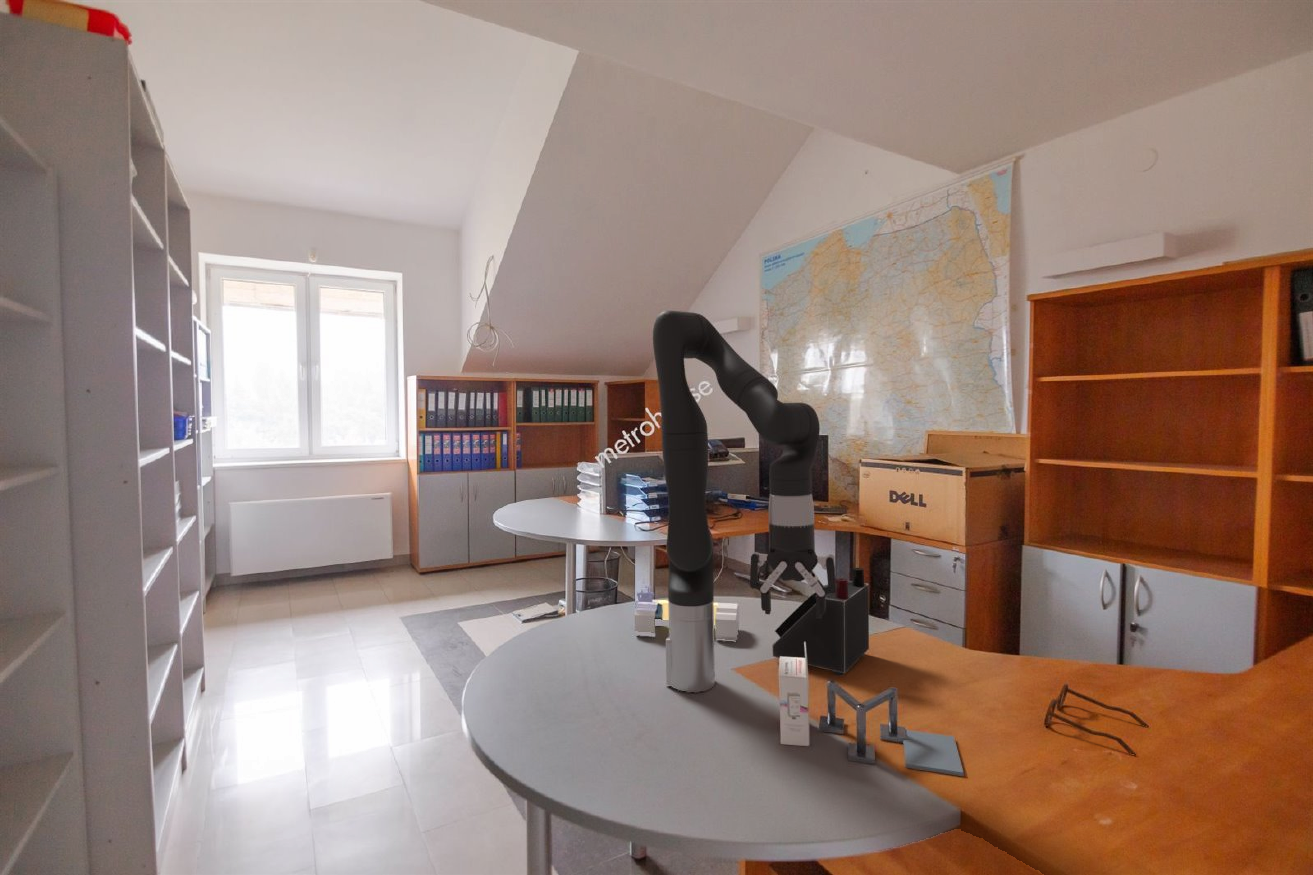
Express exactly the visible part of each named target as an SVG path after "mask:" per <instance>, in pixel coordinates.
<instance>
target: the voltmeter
mask: <svg viewBox="0 0 1313 875" xmlns="http://www.w3.org/2000/svg"><path fill="white" fill-rule="evenodd" d="M864 572H865V571H864V568H861V567H853V568H852V575H851V576H852V578H851V580H848V579H847V578H843V577H836V585H837V587H836V592H835V593H833V594H832V593H830V594H827V595H826V596H825V605H826V610H825V614H824V615H821V618H817V617H816V595H817V593H816V592H814V593H812V594H811V595H810V596H809V597H808V598H806V600H804V602H802V603H801V604H800V605H799V606H798V607H797V608H796V609H795V610H794V611H793V612H792V613H791V614H790V615H789V616H788V617H787V618H786V619H785V620H784V621H783V622H782V623H781V624H779V626H778V627H777V628H776V629H775V630H774V632H775V633H776V634H777V635H778V636H779V638H778V639H777V640H776V641H775V642H774V643H773V644H772V657H774V658H776V659H780V656H782V657H798V658H805V646H804V642H805V643H806V652H807V664H808V665H809V666H813V667H817V668H821V669H826V670H830V671H832V672H833V675H834V676H838V677H841V676H844V674H845V673H847V672H848V671H849V670H850V669H851V668H852V667H853V666H854V664H856V663H857V661H859V659H860V658H861V657H863V655H864V654H865V653H866V652H867V651H868V650H869V649H870V632H869V631H870V628H869V627H870V623H869V621H870V612H869V610H870V609H869V608H870V607H869V606H870V605H869V604H870V603H869V602H870V600H869V595H870V594H869V591H870V590H869V583H866V582H865V575H864V574H865V573H864Z"/></svg>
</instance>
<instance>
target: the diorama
mask: <svg viewBox="0 0 1313 875" xmlns="http://www.w3.org/2000/svg"><path fill="white" fill-rule="evenodd" d="M645 591H647V592H645ZM652 591H653V587H652V586H651V585H648V586H647V585H646V588H643V589H641V591H639V592H637V591H636V596H637V599H638V600H635V611H634V632H635V631H638V632H651V633H655V634H656V630H655V629H656V627H655V619H661V620H662V619H663V620H669V612H668V599H667V600H663V599H654V596H655V592H652ZM714 625H715V630H714V638H715V640H716V639H725V640H734V641H736V640H737V641H738V637H737V635H738V636H739V633H738V630H740V605H739V603H730V602H729V603H728V602H714Z"/></svg>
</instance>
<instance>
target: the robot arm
mask: <svg viewBox="0 0 1313 875" xmlns="http://www.w3.org/2000/svg"><path fill="white" fill-rule="evenodd" d="M652 328H653V329H652V346H653V354H654V360H655V361H654V362H655V367H656V374H657V382H658V388H659V389H658V390H659V404H660V419H661V420H660V422H661V431H660V432H661V448H662V449H661V450H662V451H661V452H662V461H663V470H664V478H665V484H666V491H667V499H668V500H667V501H668V518H667V519H668V520H667V537H666V543H665V544H666V546H665V548H666V553H667V556H668V585H667V592H668V593H667V596H668V597H667V600H668V612H669V627H668V636H667V638H666V639H665V672H666V673H665V676H666V678H665V681H666V682H665V684H667V685H671V686H673V687H675V688H677V689H678V690H677V691H679V690H682V691H688V692H687V693H691V692H694V693H700V692H699V691H703V692H706V691H708V690H711V689H713V687H714V686H715V684H716V683H715V680H716V679H715V678H716V672H715V664H716V663H715V630H714V603H715V601H714V599H715V598H714V597H715V596H714V589H715V588H714V583H715V582H714V581H715V579H714V538H713V534H712V531H711V530H710V529H709V527H710V526H709V523H708V522H709V521H708V520H709V519H708V515H707V504H706V503H707V502H706V500H707V499H706V497H707V496H706V495H707V493H706V492H707V482H708V469H709V437H708V436H709V433H708V425H707V424H708V423H707V420H706V418H705V417H706V416H705V415H704V412H703V411H702V409H701V407H700V406H699V404H698V402H697V401H696V398H695V397H694V395H693V393H692V391H691V389H690V386H689V384H688V382H687V377H686V376H687V375H686V369H685V367H686V366H685V359H691V360H692V359H696V360H698V361H700V362H702V363H704V364H705V365H707V366H708V367H709V368H711V370H713V371H714V373H715V377H716V380H717V383H718V386H719V388H720V389H721V391H722V392H723V394H725V396H726V397H727V398H728V399H729V400H730V401H732V403H733V404H735V405H736V406H737V407H738V408H739V409H741V410H742V411H743V412H744V413H745V414H746V416H747V418H748V420H749V421H750V423H751V424H752V426H753V427H754V429H755V431H756V432H757V433H758V434H759V436H760V437H761V438H762V439H764V440H765V441H767V442H768V443H771V444H773V445H775V446H776V445H777V446H783V449H782V450H783V451H782V453H781V454H782V455H781V456H780V457H779V458H777V459H775V460H773V461H772V462H771V463H770V466H769V472H768V473H769V475H768V476H769V477H768V478H769V479H768V482H769V498H768V499H769V503H768V538H769V539H768V540H769V546H768V547H769V551H768V553H760V552H759V551H757V550H756V551H754V552H753V553H752V554H751V556H750V569H749V570H750V572H749V574H750V575H749V587H750V588H751V589H754V590H757V591H759V592H760V606H761V607H760V608H761V611H762V612H763V611H764V613H765V615H770V614H771V612H772V600H771V599H772V596H771V590H770V589H771V587H772V585H774V584H775V582H776V581H777V580H778V579H781V580H782V581H786V582H787V581H794V582H802V581H804V580H805V581H806V582H807V583H808V585H809V586H810V587H811V588H812V589H813V590H814V591H815V592H816V593H817V595H816V617H817V618H821V615H824V614H825V610H826V605H825V596H826V595H827V594H830V593H832V594H833V593H835V592H836V587H837V585H836V579H837V575H836V565H835V564H836V562H835V556H834V555H833V554H828V555H827V556H826V555H824V556H820V555H819V556H818V555H817V554H816V545H815V538H816V537H815V520H816V516H815V508H814V506H815V504H814V501H813V479H812V478H813V476H812V467H813V465H814V461H815V457H816V453H817V452H816V451H817V449H818V448H817V447H818V443H819V439H820V438H819V437H820V420H819V416H818V414H817V412H816V410H815V409H814V408H813V407H812V406H811V405H810V404H808V403H805V402H782V401H780V400H779V399H778V397H779V392H778V389H777V387H776V385H774V383H772V381H771V380H769V379H768V378H767V377H765V376H764V375H763V374H762V373H760V371H758V370H757V369H755V367H753V366H752V365H751V364H750V363H748V362H747V361H746V360H745V359H744V358H742V356H740V355H739V353H738V352H736V351H735V349H734V348H733V347H732V346H731V345H730V344H729V343H728V342H727V340H726V339H725V338H724V337H723V336H722V335H721V333H720V332H719V331H718V329H717V328H716V327H715V326H714V325H713V324H712V322H711V321H709V320H708V318H707V317H705V316H704V315H702V314H700V313H697V312H690V311H680V310H664V311H662V312H660V313H659V314H658V315H657V317H656V318H655V321H654V324H653V327H652ZM765 562H767V563H768V565H769V566H770V568H771V569H772V571H771V573H770V574H769V575H768V577H767V578H766V579H765V581H762V580H760V568H761V567H762V566H763V565H764V563H765ZM818 564H819V565H821V568H822V569H823V570H825V571H826V577H827V584H825V585H824V584H823V583H822V582H821V580H820V579H819V576H817V574H816V573H815V571H814V570H815V567H816V566H817V565H818ZM815 592H814V593H815ZM682 691H681V692H682Z"/></svg>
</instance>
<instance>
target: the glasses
mask: <svg viewBox="0 0 1313 875" xmlns="http://www.w3.org/2000/svg"><path fill="white" fill-rule="evenodd" d="M1067 694H1071V695H1073V696H1075V697H1078V698H1080V699H1083V700H1085V701H1087V702H1090V703H1092V704H1094V705H1097V706H1099V707H1102V708H1103V709H1106V710H1110V711H1115V712H1120V713H1123V714H1125V715H1129V716H1130V717H1132V719H1134V720H1135V721H1136V722H1137V723H1139V725H1140V726H1142V725H1144V726H1147V727H1146V728H1148V727H1149V726H1150V725H1148V724H1147V723H1146V722H1145V720H1142V719H1141V717H1139V716H1138V715H1136V714H1135V713H1134V712H1133V711H1130V710H1128V709H1124V708H1122V707H1118V706H1114V705H1113V706H1112V705H1110V704H1109V705H1108V704H1107V703H1104V702H1101V701H1099V700H1096V699H1094V698H1092V697H1090V696H1088V695H1084V694H1083V693H1079V692H1077V691H1075V690H1073V689H1071V688H1069V685H1068V684H1067V683H1064V684H1063V686H1062V688H1061V689H1060V693H1059V695H1058V696H1057V697H1056V698H1052V699H1051V701H1050V703H1049V706H1048V707H1047V710H1046V714H1045V718H1044V724H1043V725H1044V726H1045V727H1048V726H1049V725H1050V723H1051V722H1052V719H1053V718H1055V719H1057V720H1058V721H1061V722H1063V723H1065V724H1068V725H1069V726H1072V727H1075V728H1076V729H1078V730H1081V731H1083V732H1086V733H1088V735H1089V734H1090V735H1091V736H1092V735H1093V736H1099V737H1104V738H1108V739H1110V740H1114V741H1117V743H1118V744H1119V745H1120V746H1121V747H1122V748H1123V749H1124V750H1125V751H1126V752H1128V754H1129V753H1131V754H1134V755H1138V754H1137V753H1136V752H1135V751H1134V750H1133V749H1132V748H1131V747H1130V746H1129V745H1128V744H1127V743H1126V742H1125V740H1124V741H1123V739H1122V738H1121V737H1118V736H1115V735H1114V734H1111V733H1107V732H1104V731H1097V730H1093V729H1090V728H1089V727H1086V726H1085V725H1081V724H1080V723H1077V722H1075V721H1073V720H1071V719H1069V718H1066V717H1064V716H1062V715H1060V714H1057V713H1055V710H1056V709H1057V710H1059V711H1060V710H1061V709H1062V708H1063V705H1064V703H1065V702H1066V697H1067ZM1144 726H1143V727H1144ZM1131 754H1130V755H1131ZM1134 755H1133V756H1134Z"/></svg>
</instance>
